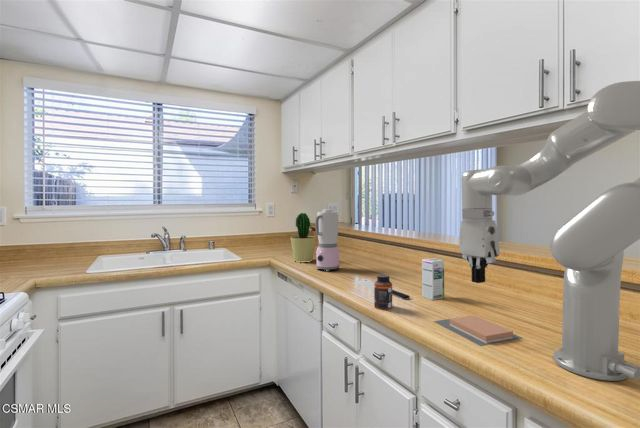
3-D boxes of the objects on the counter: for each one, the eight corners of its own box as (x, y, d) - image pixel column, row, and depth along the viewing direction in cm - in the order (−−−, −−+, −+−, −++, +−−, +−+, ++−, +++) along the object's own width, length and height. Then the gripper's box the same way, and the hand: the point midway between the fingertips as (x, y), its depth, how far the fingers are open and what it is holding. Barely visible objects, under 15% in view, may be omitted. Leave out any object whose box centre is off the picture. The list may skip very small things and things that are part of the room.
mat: (523, 340, 87) (523, 338, 87) (480, 348, 82) (480, 345, 82) (470, 317, 104) (470, 315, 104) (433, 323, 99) (433, 321, 99)
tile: (474, 321, 99) (512, 338, 87) (449, 325, 96) (485, 343, 84) (474, 315, 99) (513, 331, 87) (449, 318, 96) (485, 336, 84)
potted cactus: (317, 259, 210) (316, 211, 209) (314, 263, 195) (314, 212, 194) (293, 258, 212) (292, 211, 211) (288, 263, 196) (288, 212, 195)
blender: (326, 266, 187) (326, 209, 186) (344, 269, 179) (343, 209, 178) (307, 270, 175) (307, 209, 174) (325, 273, 167) (325, 210, 166)
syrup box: (432, 300, 122) (433, 261, 121) (421, 296, 127) (421, 258, 126) (444, 298, 124) (444, 259, 123) (432, 294, 129) (433, 257, 129)
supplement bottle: (395, 310, 111) (395, 276, 110) (378, 312, 109) (378, 277, 109) (387, 305, 116) (387, 273, 116) (371, 306, 115) (371, 274, 115)
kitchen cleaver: (347, 282, 148) (366, 277, 152) (348, 285, 148) (367, 280, 153) (391, 300, 120) (413, 294, 124) (392, 305, 120) (413, 298, 125)
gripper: (511, 215, 86) (512, 286, 86) (467, 214, 100) (469, 276, 100) (488, 216, 83) (489, 289, 83) (447, 215, 97) (448, 278, 98)
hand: (478, 281), depth 92 cm, fingers closed
